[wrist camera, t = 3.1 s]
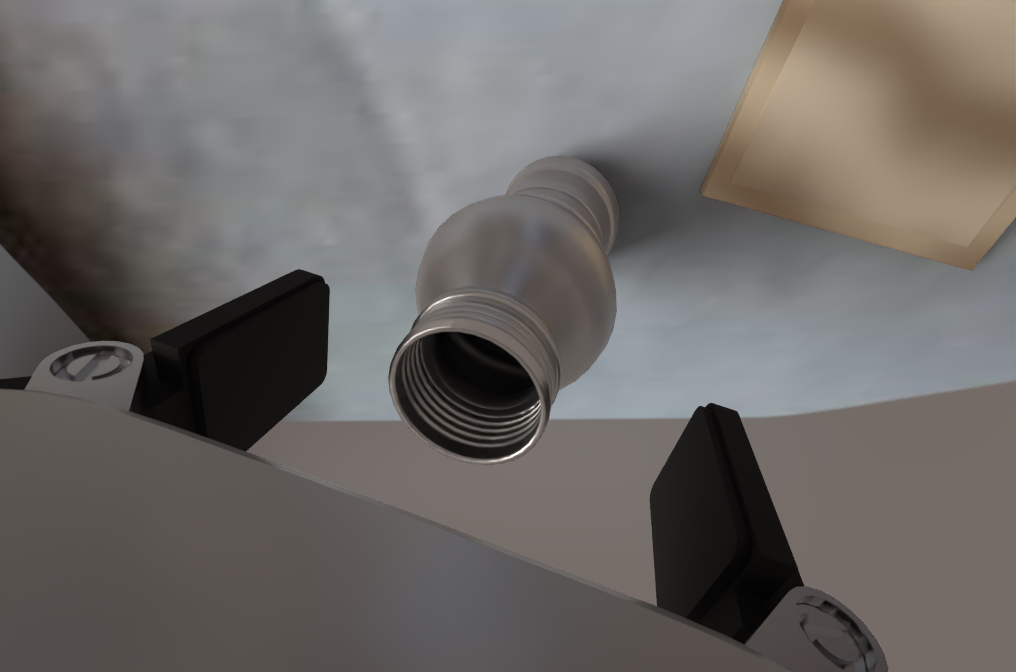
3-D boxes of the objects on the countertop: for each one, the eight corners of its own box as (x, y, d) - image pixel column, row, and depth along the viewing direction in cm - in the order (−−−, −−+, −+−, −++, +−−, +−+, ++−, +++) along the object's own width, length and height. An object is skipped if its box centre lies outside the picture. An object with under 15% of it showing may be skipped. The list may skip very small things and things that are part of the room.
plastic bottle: (549, 280, 29) (449, 539, 12) (490, 191, 27) (270, 343, 10) (640, 228, 26) (682, 466, 9) (581, 125, 24) (493, 177, 7)
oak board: (851, -156, 18) (867, -173, 17) (1226, -78, 17) (1269, -91, 16) (699, 191, 25) (702, 196, 24) (956, 263, 24) (972, 271, 23)
